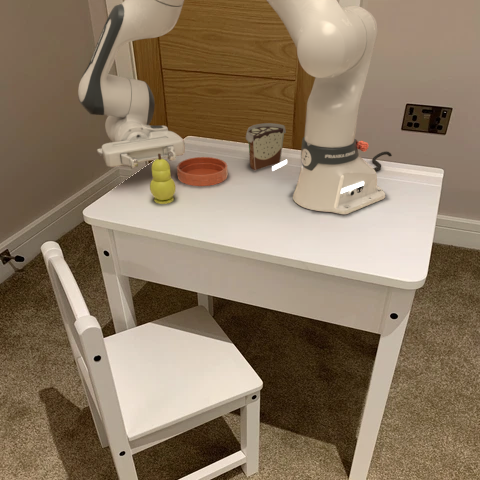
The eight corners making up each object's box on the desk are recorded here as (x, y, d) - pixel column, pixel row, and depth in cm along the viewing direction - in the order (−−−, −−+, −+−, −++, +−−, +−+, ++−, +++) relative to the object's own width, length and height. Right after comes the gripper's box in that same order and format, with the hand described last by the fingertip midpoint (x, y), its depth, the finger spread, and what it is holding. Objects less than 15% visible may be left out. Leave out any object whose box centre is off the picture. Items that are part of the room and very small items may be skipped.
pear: (171, 193, 121) (167, 147, 114) (180, 202, 117) (176, 155, 110) (148, 198, 119) (142, 151, 112) (156, 207, 115) (151, 160, 108)
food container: (269, 155, 142) (270, 119, 135) (284, 161, 138) (286, 125, 132) (236, 166, 135) (236, 128, 129) (250, 172, 132) (251, 134, 125)
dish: (214, 164, 136) (214, 153, 134) (235, 181, 127) (235, 169, 125) (170, 173, 132) (169, 162, 130) (189, 190, 123) (188, 179, 121)
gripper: (92, 136, 120) (108, 154, 110) (171, 124, 127) (192, 140, 118) (97, 161, 124) (113, 181, 114) (173, 149, 131) (194, 166, 122)
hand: (154, 160), depth 116 cm, fingers open, 8 cm apart
